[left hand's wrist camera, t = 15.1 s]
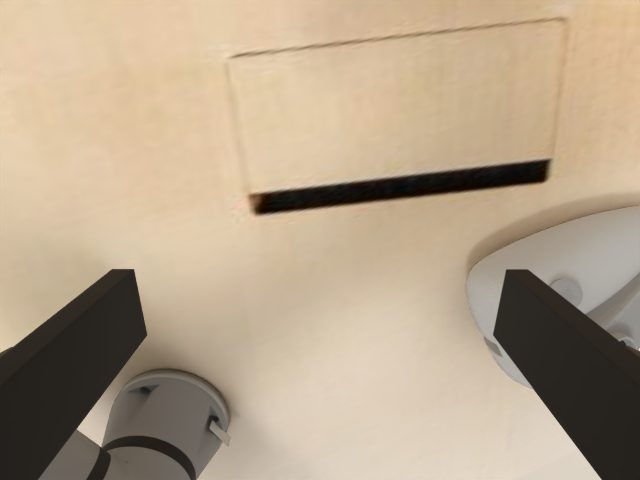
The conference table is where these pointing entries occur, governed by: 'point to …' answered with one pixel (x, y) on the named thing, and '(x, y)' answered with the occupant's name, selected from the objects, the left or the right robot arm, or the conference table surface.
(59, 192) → the conference table surface
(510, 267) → the projector
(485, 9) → the conference table surface
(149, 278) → the conference table surface
